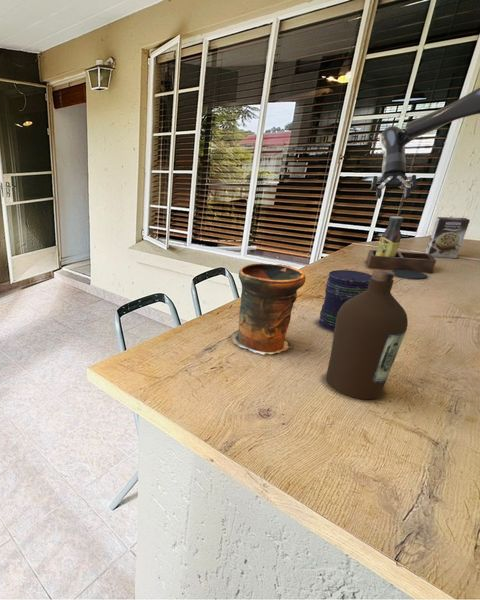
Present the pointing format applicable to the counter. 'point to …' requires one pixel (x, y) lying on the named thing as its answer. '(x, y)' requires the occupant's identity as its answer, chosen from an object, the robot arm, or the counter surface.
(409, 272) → the coaster
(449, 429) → the counter surface
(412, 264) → the tray
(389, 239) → the sauce bottle
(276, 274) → the vessel
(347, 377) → the olive oil
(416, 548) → the counter surface
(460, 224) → the cookie box
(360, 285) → the storage jar
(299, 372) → the counter surface
